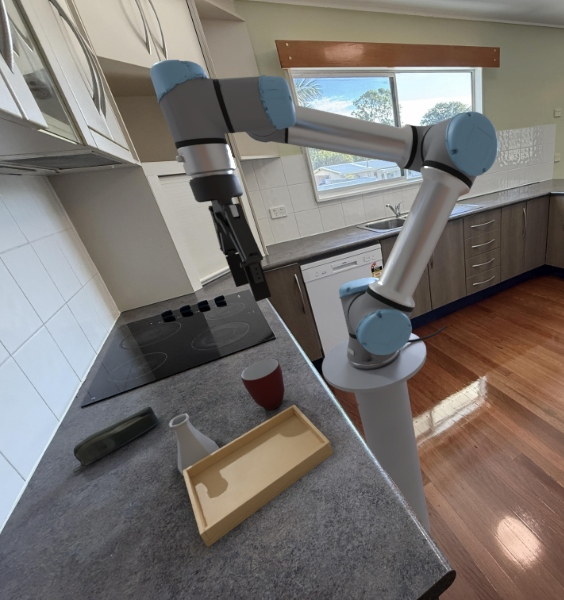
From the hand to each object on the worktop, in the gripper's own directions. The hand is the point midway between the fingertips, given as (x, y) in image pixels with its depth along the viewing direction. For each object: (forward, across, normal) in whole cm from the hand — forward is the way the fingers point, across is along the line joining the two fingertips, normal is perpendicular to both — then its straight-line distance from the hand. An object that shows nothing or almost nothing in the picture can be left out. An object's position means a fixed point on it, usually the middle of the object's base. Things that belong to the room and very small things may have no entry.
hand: (252, 291), depth 61 cm
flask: (+28, +1, -19) cm, 34 cm away
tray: (+28, +13, -11) cm, 33 cm away
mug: (+28, -5, -3) cm, 29 cm away
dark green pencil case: (+29, -18, -32) cm, 46 cm away
